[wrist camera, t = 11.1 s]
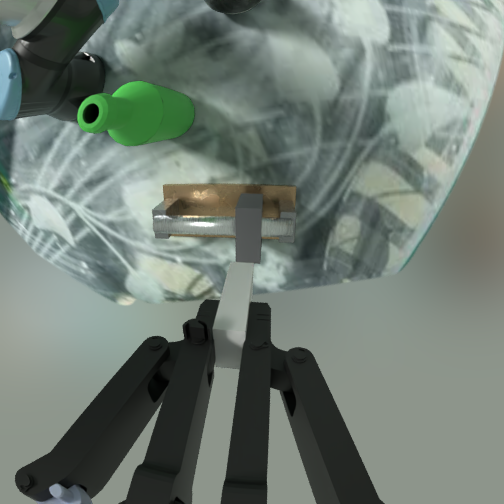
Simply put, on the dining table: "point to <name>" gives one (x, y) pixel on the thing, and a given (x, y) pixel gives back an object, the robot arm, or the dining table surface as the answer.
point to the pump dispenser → (232, 5)
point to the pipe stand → (222, 210)
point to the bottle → (137, 114)
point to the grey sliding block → (248, 227)
